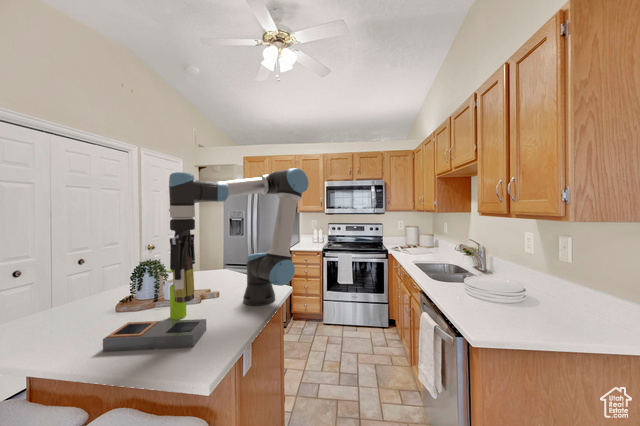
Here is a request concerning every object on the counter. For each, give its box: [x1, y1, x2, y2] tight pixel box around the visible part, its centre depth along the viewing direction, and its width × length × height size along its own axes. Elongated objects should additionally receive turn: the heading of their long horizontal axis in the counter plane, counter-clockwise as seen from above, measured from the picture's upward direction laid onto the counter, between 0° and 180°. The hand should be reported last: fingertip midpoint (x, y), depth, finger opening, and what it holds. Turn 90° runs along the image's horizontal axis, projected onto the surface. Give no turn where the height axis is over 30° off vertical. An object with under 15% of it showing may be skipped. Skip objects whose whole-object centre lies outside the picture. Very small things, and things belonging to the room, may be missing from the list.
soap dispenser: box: [167, 269, 187, 321], centre depth 105 cm, size 6×7×20 cm
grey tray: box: [102, 318, 207, 353], centre depth 87 cm, size 27×12×4 cm, turn 95°
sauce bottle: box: [172, 242, 195, 303], centre depth 87 cm, size 6×6×20 cm
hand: (183, 285), depth 87 cm, fingers closed on sauce bottle, 6 cm apart
